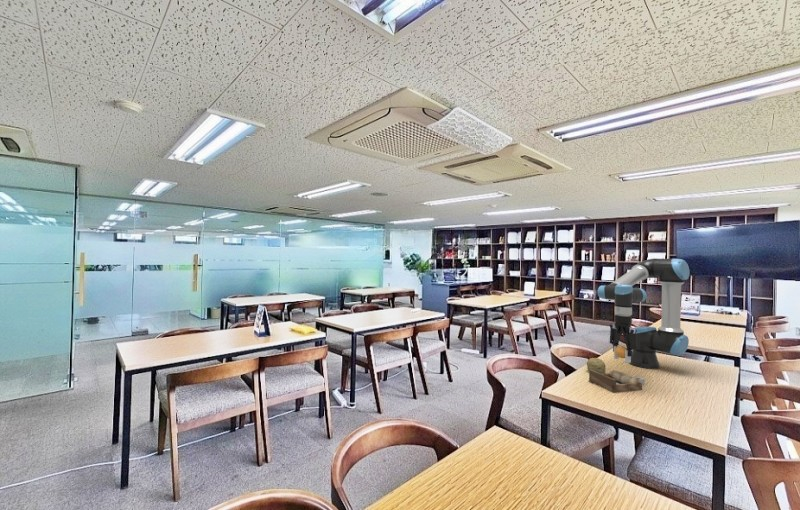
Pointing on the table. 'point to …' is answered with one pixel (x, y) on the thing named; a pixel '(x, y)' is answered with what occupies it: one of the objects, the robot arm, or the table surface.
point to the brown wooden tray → (610, 381)
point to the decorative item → (596, 365)
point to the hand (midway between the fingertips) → (622, 360)
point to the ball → (620, 351)
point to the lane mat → (616, 384)
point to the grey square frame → (640, 379)
